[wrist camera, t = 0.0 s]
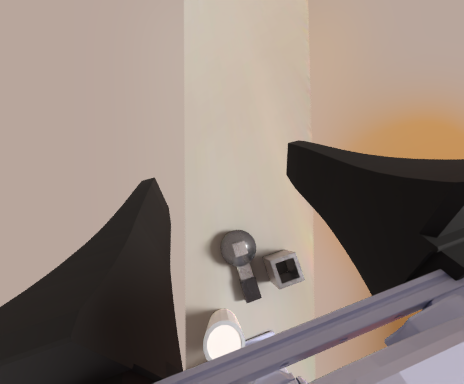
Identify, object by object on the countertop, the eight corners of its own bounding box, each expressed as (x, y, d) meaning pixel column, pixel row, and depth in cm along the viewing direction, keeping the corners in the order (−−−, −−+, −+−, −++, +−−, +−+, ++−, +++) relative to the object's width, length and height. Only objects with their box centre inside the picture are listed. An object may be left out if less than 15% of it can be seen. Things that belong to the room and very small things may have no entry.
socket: (292, 273, 41) (305, 280, 35) (270, 281, 40) (279, 289, 34) (284, 249, 42) (295, 252, 36) (262, 257, 41) (270, 260, 35)
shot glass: (218, 297, 39) (219, 311, 32) (247, 318, 38) (253, 337, 31) (198, 330, 37) (193, 352, 30) (227, 352, 37) (229, 379, 30)
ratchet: (268, 291, 40) (275, 299, 35) (235, 303, 39) (238, 313, 34) (247, 226, 42) (251, 225, 37) (216, 235, 41) (216, 236, 36)
